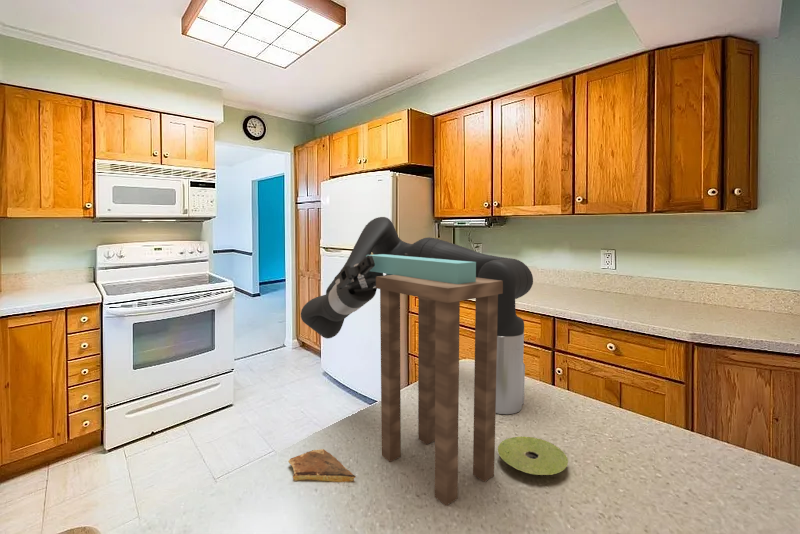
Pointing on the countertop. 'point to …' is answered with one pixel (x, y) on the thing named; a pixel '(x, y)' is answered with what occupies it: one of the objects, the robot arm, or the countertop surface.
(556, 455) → the green flat disc
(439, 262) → the teal block
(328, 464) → the brown flat wedge
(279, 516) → the countertop surface
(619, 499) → the countertop surface
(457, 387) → the walnut stand
